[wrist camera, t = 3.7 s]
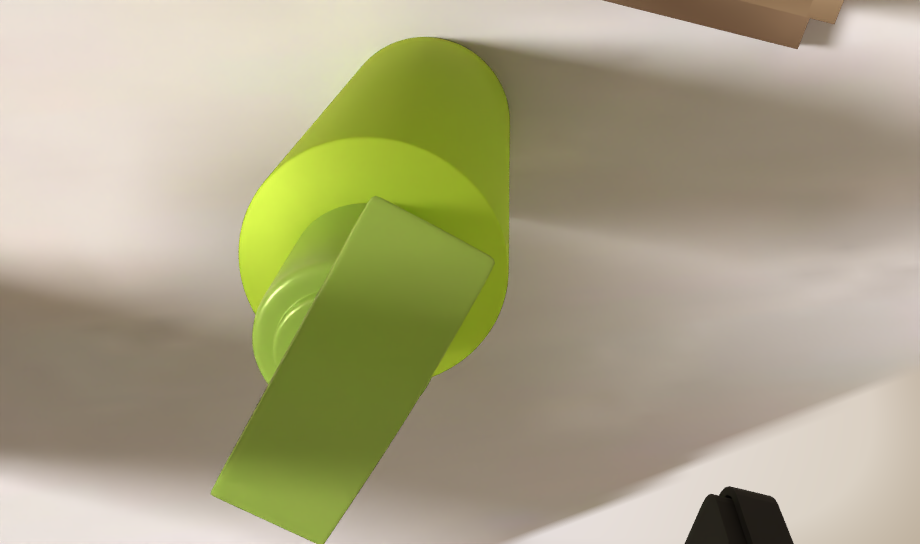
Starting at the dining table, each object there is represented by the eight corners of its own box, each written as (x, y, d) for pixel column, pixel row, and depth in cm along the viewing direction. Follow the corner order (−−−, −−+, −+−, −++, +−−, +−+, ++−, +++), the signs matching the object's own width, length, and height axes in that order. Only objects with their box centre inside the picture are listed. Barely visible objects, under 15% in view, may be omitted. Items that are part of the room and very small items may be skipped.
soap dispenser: (556, 64, 30) (629, 346, 11) (459, 227, 32) (389, 671, 14) (405, -25, 29) (217, 127, 10) (317, 151, 31) (44, 519, 13)
